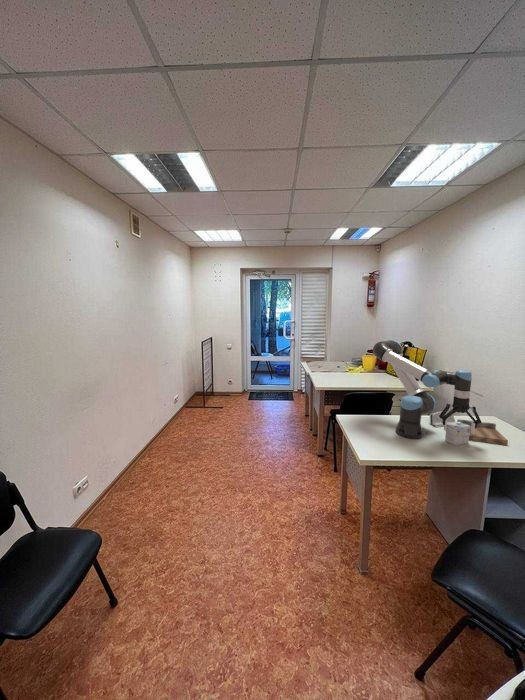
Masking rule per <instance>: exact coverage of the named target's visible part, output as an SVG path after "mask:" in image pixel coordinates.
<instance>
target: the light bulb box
mask: <svg viewBox="0 0 525 700" xmlns="http://www.w3.org/2000/svg"><path fill="white" fill-rule="evenodd" d="M455 422H456V421H455ZM469 433H470V426H469V425H467V424H464V423H462V422H456V423H450V424H447V429H446V431H445V437H444V438H445V439H444V442H445V441H446V442H447V443H449V444H451V445H452V446H453V445H454V446H457V445H463V444H469V442H470V440H469Z"/></svg>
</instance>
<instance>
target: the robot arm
mask: <svg viewBox="0 0 525 700" xmlns="http://www.w3.org/2000/svg"><path fill="white" fill-rule="evenodd" d="M372 353H373V356H375V358H377V360H380V361H382V362H384V363H386V362H387V364H388V363H389V364H390V366H391V367H392V368H393V370H394V372H395V374H396V376H397V378H398V379H399V381H400V382H401V384H402V386H403V388H404V389H405V391H406V393H407V394H408V395H405V396H403V397H402V398H401V400H400V403H399V404H400V409H399V421H398V422H397V424H396V427H395V432H396V434H397V435H398V436H401V437H403V438H406V439H411V440H412V439H414V440H418V439H422V438H423V436H424V433H423V427H422V424H421V423H422V422H421V421H422V416H424V415H427V414H431V412H433V411H434V410H435V409H436V406H437V403H436V399H435V398H434V397H433V396H432V395H431V394H429V393H428V392H427V391H426V390H425V389H422V388H421V386H420V384H419V383H418V381H417V380H419V381H421V382H422V384H423V385H424V386H425V387H427V388H430V389H431V388H432V389H433V388H436V387H438V386H443V385H450V386H454V387H453V388H454V390H453V400H452V402H453V403H448V402H447V403H446V404H445V407H444V408H443V410H441V411H442V413H441V414H440V415H439V417H440V418H441V419H443V420H442V424H443V425H444V427H443V430H444V431H445V432H446V429H447V420H446V419H447V418H448V417H450V416H451V415H452V414H453V415H454V414H456V413H458V414H459V413H460V414H465V413H466V415H467V416H468V417H469V418H470V419H471V421H474V422H472V425H471V433H472V434H474V430H475V429H476V428H477V424H478V423H481V422H482V419H481V418H480V416H479V414H478V412H477V407H476V406H475V405H470V397H471V388H472V378H473V377H472V372H471V371H470V370H466V369H457V370H456V371H455V372H451V371H448V370H447V371H446V370H441V369H438V370H437V369H435V370H434V371H430V370H429V369H427V368H425V367H423V366H421V365H419V364H418V363H415V362H414V361H412V360H410V359H408V358H406V357H403V356H404V353H403V347H402V345H401V343H400V342H399V341H397V340H389V339H388V340H385V341H383V340H382V341H378V342H376V343H374V345H373V346H372ZM450 409H451V410H450ZM449 410H450V411H449ZM469 410H471V411H472V413H473V415H474V416H473V415H472V414H471V413H470V412H469ZM446 412H448V413H447V414H446ZM445 414H446V415H445ZM444 415H445V416H444ZM474 417H475V418H474Z"/></svg>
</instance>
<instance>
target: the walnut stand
mask: <svg viewBox="0 0 525 700" xmlns="http://www.w3.org/2000/svg"><path fill="white" fill-rule="evenodd" d="M457 422H462V423H464V424H467V425H469V426H470V433H469V441H473V442H480V443H481V442H482V443H486V444H487V443H488V444H494V445H502V446H508V441H509V440H508V439H507V438H506V437H505V436H504V435H502V433H501V432H499V430H497V429H496V428H497V423H493V422H485V421H481V423H478V424H477V428H476V429H475V430H474V434H472V433H471V425H472V422H474V421H473V420H469V419H468V420H467V419H460V418H457Z"/></svg>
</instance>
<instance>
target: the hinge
mask: <svg viewBox="0 0 525 700" xmlns="http://www.w3.org/2000/svg"><path fill="white" fill-rule="evenodd" d="M442 411H443V410H441V411H435V412H432V413H429V425H431V426H434V427H435V428H444V425H443V424H442V420H443V419H441V418H440V417H439V415H440V414H441V413H442ZM448 412H449V411H447V412H446V414H447V413H448ZM446 414H445V415H446ZM445 415H444V416H445ZM455 419H456V418H455V416H454V414H452V415H451V416H450V417H448V418H447V419H446V420H447V424H450V423H456V420H455Z"/></svg>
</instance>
